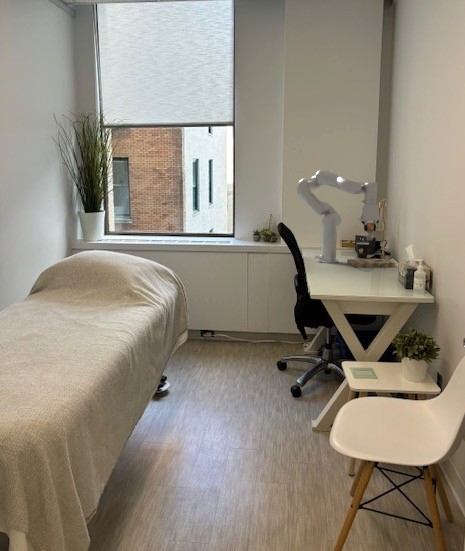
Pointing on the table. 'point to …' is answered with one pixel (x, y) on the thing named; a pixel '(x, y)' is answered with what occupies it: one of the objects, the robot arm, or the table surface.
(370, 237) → the awl
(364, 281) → the table surface
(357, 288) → the table surface
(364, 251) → the coffee mug
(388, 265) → the board
